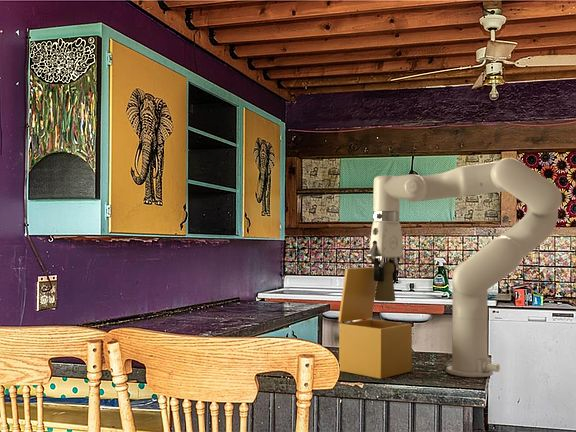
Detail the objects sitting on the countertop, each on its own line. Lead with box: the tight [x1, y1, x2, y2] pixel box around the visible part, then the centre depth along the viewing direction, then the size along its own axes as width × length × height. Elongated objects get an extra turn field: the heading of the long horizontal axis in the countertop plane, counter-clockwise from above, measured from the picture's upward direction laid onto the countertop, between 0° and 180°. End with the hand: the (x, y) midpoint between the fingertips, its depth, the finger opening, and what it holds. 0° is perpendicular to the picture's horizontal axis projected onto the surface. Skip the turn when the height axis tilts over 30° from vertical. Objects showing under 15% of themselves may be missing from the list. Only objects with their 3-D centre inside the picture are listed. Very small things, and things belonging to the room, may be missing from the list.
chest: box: [338, 318, 413, 380], centre depth 194 cm, size 15×15×13 cm
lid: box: [337, 266, 377, 323], centre depth 200 cm, size 15×15×5 cm
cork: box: [374, 261, 396, 302], centre depth 198 cm, size 6×6×11 cm
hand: (385, 280), depth 198 cm, fingers closed on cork, 5 cm apart
